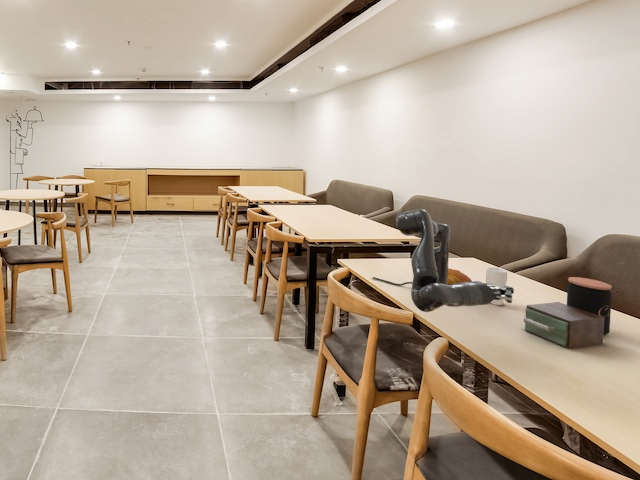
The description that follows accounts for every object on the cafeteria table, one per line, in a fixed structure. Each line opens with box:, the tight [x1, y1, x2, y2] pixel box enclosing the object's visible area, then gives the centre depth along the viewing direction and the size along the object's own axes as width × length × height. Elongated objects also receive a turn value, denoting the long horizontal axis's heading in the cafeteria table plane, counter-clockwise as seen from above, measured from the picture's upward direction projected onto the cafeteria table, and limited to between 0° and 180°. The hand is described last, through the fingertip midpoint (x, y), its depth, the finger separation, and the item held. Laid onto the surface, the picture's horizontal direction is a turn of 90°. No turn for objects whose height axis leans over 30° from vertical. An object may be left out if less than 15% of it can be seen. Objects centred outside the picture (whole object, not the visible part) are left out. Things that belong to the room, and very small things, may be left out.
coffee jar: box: [566, 276, 613, 336], centre depth 136 cm, size 11×11×18 cm
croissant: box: [448, 267, 472, 284], centre depth 180 cm, size 14×16×8 cm
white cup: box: [485, 266, 508, 306], centre depth 158 cm, size 7×7×15 cm
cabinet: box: [524, 301, 605, 350], centre depth 130 cm, size 16×13×10 cm
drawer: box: [523, 308, 568, 347], centre depth 129 cm, size 19×11×8 cm, turn 101°
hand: (510, 289), depth 124 cm, fingers closed
